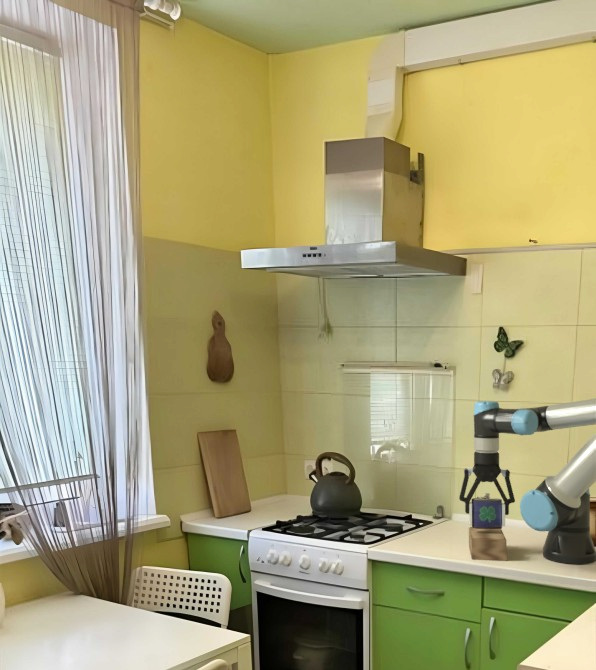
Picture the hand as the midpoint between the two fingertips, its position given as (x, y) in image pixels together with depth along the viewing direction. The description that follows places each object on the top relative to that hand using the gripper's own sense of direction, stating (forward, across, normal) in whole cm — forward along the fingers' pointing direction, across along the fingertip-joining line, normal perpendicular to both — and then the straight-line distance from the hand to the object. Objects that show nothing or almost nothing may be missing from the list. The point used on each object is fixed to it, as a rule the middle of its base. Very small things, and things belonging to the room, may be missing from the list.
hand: (486, 524), depth 231 cm
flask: (+1, 0, 0) cm, 1 cm away
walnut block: (+9, 0, 0) cm, 9 cm away
